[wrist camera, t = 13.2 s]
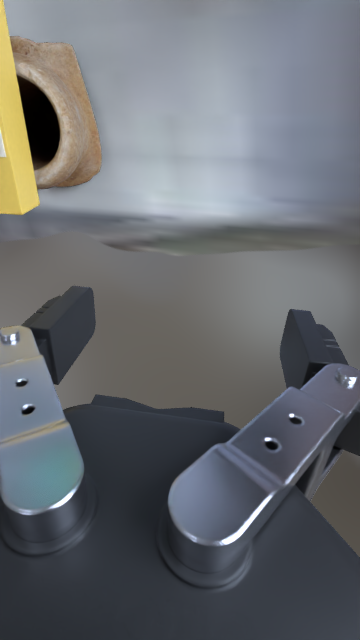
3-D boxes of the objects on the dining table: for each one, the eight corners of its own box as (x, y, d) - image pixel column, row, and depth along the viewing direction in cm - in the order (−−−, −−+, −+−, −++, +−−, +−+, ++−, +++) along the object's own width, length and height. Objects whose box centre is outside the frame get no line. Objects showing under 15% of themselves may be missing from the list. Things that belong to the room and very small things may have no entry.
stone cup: (127, 175, 42) (81, 194, 29) (42, 190, 44) (-37, 213, 31) (94, 19, 35) (13, -49, 22) (-6, 46, 37) (-133, -1, 24)
